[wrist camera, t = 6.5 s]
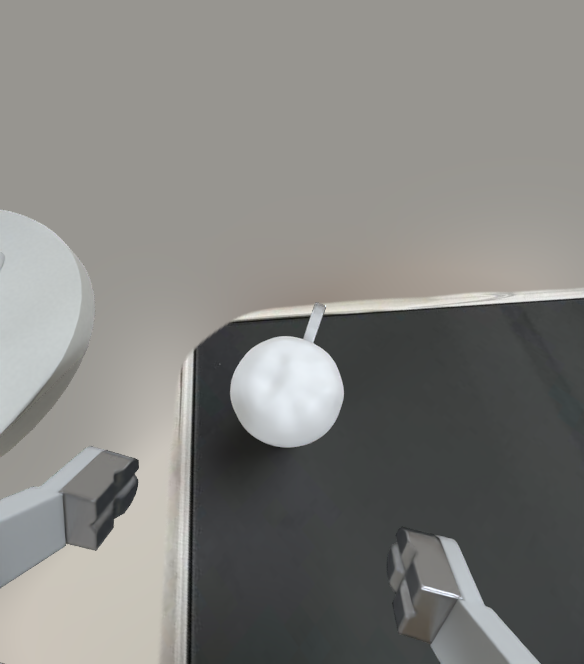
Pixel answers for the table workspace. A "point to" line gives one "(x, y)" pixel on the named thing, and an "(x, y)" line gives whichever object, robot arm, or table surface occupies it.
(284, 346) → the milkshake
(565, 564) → the table surface
